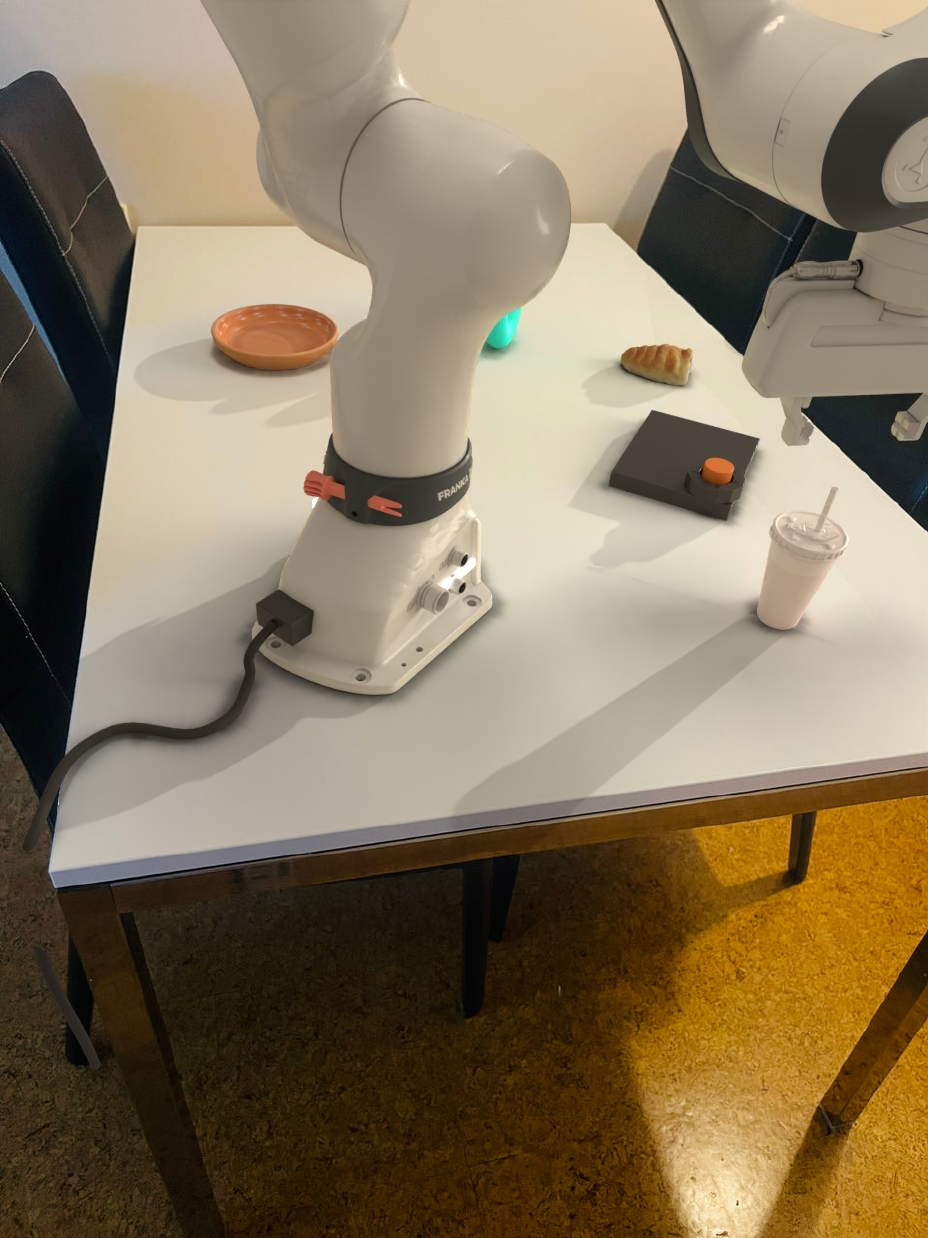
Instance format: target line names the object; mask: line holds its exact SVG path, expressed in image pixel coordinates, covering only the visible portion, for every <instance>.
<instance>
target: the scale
mask: <svg viewBox="0 0 928 1238" xmlns="http://www.w3.org/2000/svg"><path fill="white" fill-rule="evenodd" d="M760 440H761V438H760V437H756V436H752V435H748V434H744V433H741V432H738V431H734V430H730V429H726V428H722V427H720V426H714V425H712V424H707V423H704V422H699V421H696V420H693V419H688V418H685V417H680V416H678V415H674V414H670V413H666V412H662V411H659V410H655V409H651V411H649V413H648V415H647V417H646V418H645V420H643V422H642V424H641V426H640V427H639V429H638V430H637V432H636V433H635V435H634V436H633V438H632V439H631V441H630V442H629V444H628V446H627V447H626V449H625V450H624V452H623V453H622V455H621V456H620V457H619V459H618V461H617V462H616V464H615V465H614V466H613V468H612V470H611V471H610V477H609V482H608V487H611V488H614V489H618V490H621V491H625V492H627V493H631V494H635V495H638V496H642V497H645V498H647V499H648V498H649V499H651V500H655V501H658V502H662V503H664V504H665V503H666V504H668V505H672V506H675V507H679V508H683V509H685V510H688V511H692V512H696V513H699V514H702V515H705V516H709V517H713V518H715V519H719V520H722V521H728V519H729V517H730V515H731V512H732V510H733V507H734V505H735V503H736V501H739V499H740V498H741V495H742V493H743V491H744V487H745V485H746V484H745V483H746V482H747V479H746V477H747V474H748V471H749V469H750V466H751V465H752V462H753V460H754V457H755V455H756V452H757V450H758V446H759V444H760ZM710 458H721V459H725V460H727V461H729V462H731V463H732V464H733V466H734V471H733V474H732V477H731V480H730V483H729V484H726V485H724V484H714V483H710V482H708V481H706V480H705V479H703V478H702V472H703V468H704V464H705V461H706V460H708V459H710Z"/></svg>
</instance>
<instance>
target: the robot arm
mask: <svg viewBox="0 0 928 1238" xmlns="http://www.w3.org/2000/svg"><path fill="white" fill-rule="evenodd" d="M199 1H200V4H201V5H202V7H203V9H204V10H205V12H206V13H207V16H208V18H209V19H210V21H211V22H212V25H213V26H214V28H215V29H216V31H217V34H218V35H219V36H220V38H221V41H222V42H223V44H224V46H225V47H226V49H227V51H228V52H229V54H230V57H231V58H232V60H233V61H234V63H235V65H236V68H237V70H238V72H239V74H240V76H241V78H242V80H243V83H244V85H245V87H246V90H247V92H248V95H249V98H250V101H251V103H252V106H253V109H254V113H255V115H256V118H257V122H258V124H259V129H258V133H257V138H256V148H255V157H256V159H255V160H256V168H257V173H258V177H259V180H260V183H261V186H262V188H263V190H264V192H265V194H266V196H267V197H268V199H269V200H270V201H271V203H272V204H273V205H274V206H275V207H276V208H277V209H278V210H279V211H280V212H281V213H282V214H283V215H284V216H285V217H286V218H287V219H288V220H289V221H290V222H291V223H292V224H293V225H295V226H296V228H298V229H299V230H300V231H301V232H303V234H305V235H307V236H308V237H309V239H311V240H312V241H314V242H316V243H318V244H319V245H322V246H324V247H327V248H328V249H330V250H332V251H334V252H336V253H338V254H339V255H342V256H344V257H346V258H348V259H350V260H352V261H355V262H357V263H358V264H360V265H363V266H365V267H366V269H367V271H368V273H369V277H370V280H371V287H372V288H371V295H370V296H371V298H370V304H369V308H368V312H367V315H366V318H364V319H362V320H360V321H359V322H357V323H355V324H353V325H352V326H351V327H350V328H348V329H347V330H346V331H345V332H344V333H343V334H342V335H341V336H340V337H339V338H337V341H336V343H335V345H334V346H333V347H332V350H331V354H330V358H329V377H330V380H329V381H330V400H331V401H330V402H331V403H330V405H331V407H330V408H331V429H332V432H331V434H330V435H329V438H328V442H327V448H326V451H325V454H324V457H323V461H322V464H323V470H322V473H321V472H320V471H317V470H310V471H309V472H308V473H307V474H306V475H305V478H304V481H303V492H304V493H303V494H305V495H307V496H308V497H309V496H310V497H313V499H312V500H311V502H312V503H311V504H312V509H311V511H310V513H309V514H308V517H307V518H306V521H305V522H304V524H303V527H302V529H301V531H300V533H299V534H298V537H297V539H296V541H295V543H294V545H293V547H292V549H291V551H290V554H289V555H288V558H287V559H286V561H285V563H284V566H283V568H282V570H281V573H280V577H279V582H278V583H279V584H278V586H277V589H276V590H275V591H273V592H271V593H270V594H268V595H267V596H264V598H262V599H260V600H258V601H257V602H256V603H255V610H256V618H257V620H256V621H255V623H254V625H253V626H252V629H251V641H250V642H249V644H248V646H247V648H246V650H245V652H244V655H243V660H242V661H243V663H242V664H243V669H244V676H243V679H242V681H241V685H240V688H239V691H238V694H237V696H236V698H235V700H234V702H233V704H232V705H231V707H230V708H229V709H228V710H227V712H225V713H224V714H223V715H221V716H220V717H218V718H217V719H216V720H214V721H212V722H210V723H207V724H204V725H202V726H198V727H193V728H179V727H178V728H177V727H170V726H164V725H158V724H153V723H148V722H147V723H146V722H121V723H116V724H111V725H109V726H107V727H105V728H102V729H100V730H98V731H97V732H94V733H92V734H90V735H89V736H88V737H86V738H85V739H83V740H81V741H80V742H79V743H77V744H76V745H74V747H72V748H71V749H70V750H69V751H68V752H67V753H66V754H65V755H64V756H63V757H62V759H61V760H60V761H59V763H58V764H57V765H56V767H55V768H54V769H53V772H52V774H51V775H50V777H49V779H48V782H47V784H46V786H45V789H44V790H43V793H42V795H41V798H40V801H39V803H38V805H37V808H36V810H35V813H34V814H33V818H32V819H31V822H30V826H29V827H28V830H27V833H26V835H25V837H24V841H23V844H22V850H23V851H25V852H28V851H29V852H30V851H32V850H33V849H34V848H35V847H37V845H38V843H39V840H40V837H41V835H42V832H43V830H44V827H45V824H46V822H47V819H48V818H49V817H48V816H49V814H50V812H51V809H52V806H53V805H54V801H55V799H56V797H57V794H58V792H59V789H60V788H61V785H62V783H63V781H64V779H65V778H66V776H67V774H68V772H69V771H70V769H71V768H72V767H73V765H74V764H75V763H76V762H77V761H78V760H79V759H80V758H81V757H82V756H83V755H84V754H85V753H87V752H88V751H89V750H91V749H93V748H94V747H96V746H97V745H99V744H101V743H102V742H105V741H107V740H108V739H111V738H113V737H116V736H120V735H126V734H128V735H129V734H138V735H145V736H152V737H159V738H165V739H169V740H170V739H171V740H180V741H184V740H185V741H188V740H198V739H203V738H206V737H208V736H211V735H213V734H216V733H218V732H219V731H221V730H223V729H225V728H226V727H228V726H229V725H231V724H232V723H233V722H234V721H235V720H236V719H237V718H238V717H239V715H240V714H241V712H242V710H243V709H244V707H245V705H246V703H247V700H248V698H249V696H250V693H251V689H252V686H253V684H254V679H255V677H256V666H255V665H256V664H255V658H256V655H257V653H258V651H259V652H260V653H261V654H262V655H263V656H264V657H265V658H267V659H268V660H269V661H271V662H272V663H274V664H275V665H277V666H278V667H280V668H282V669H284V670H286V671H288V672H289V673H291V674H293V675H296V676H299V677H301V678H303V679H305V680H308V681H310V682H313V683H316V684H318V685H321V686H323V687H327V688H331V689H335V690H337V691H341V692H342V691H343V692H347V693H352V694H358V695H359V694H360V695H373V696H374V695H375V696H376V695H390V694H394V693H396V692H397V691H399V690H400V689H401V688H402V687H404V686H405V685H406V684H407V683H408V682H409V681H411V680H412V679H413V678H414V677H415V676H416V675H417V674H418V673H419V672H421V671H422V670H423V669H424V668H426V667H427V666H428V665H429V664H430V663H431V662H433V660H434V659H435V658H436V657H438V656H439V655H440V654H441V653H442V652H443V651H445V649H447V648H448V647H449V646H451V644H452V643H453V642H454V641H456V640H457V639H458V638H460V636H461V635H462V634H464V633H465V632H466V631H467V630H468V629H470V628H471V627H472V626H473V625H474V624H475V623H476V622H477V621H478V620H480V619H481V618H482V617H483V616H484V615H485V614H487V612H488V611H490V610H491V609H492V608H493V593H492V591H491V590H490V589H489V587H488V586H487V585H486V584H485V583H484V582H483V581H482V579H481V577H482V575H481V571H482V570H481V568H482V566H481V565H482V523H481V521H480V518H479V515H478V514H477V513H476V510H475V509H474V506H473V504H472V501H471V500H470V496H469V493H468V491H469V489H470V485H471V477H472V472H473V462H474V461H473V459H474V458H473V446H472V441H471V439H470V437H469V428H470V427H469V426H470V418H471V409H472V400H473V393H474V392H473V391H474V383H475V378H476V377H475V375H476V370H477V366H478V363H479V358H480V355H481V353H482V350H483V347H484V345H485V343H486V342H487V340H486V339H487V337H488V336H489V334H490V332H491V331H492V329H493V328H494V326H495V325H496V324H497V323H498V322H499V320H501V319H502V318H503V317H504V316H505V315H507V314H509V313H511V312H513V311H515V310H517V309H519V308H521V309H522V307H524V306H526V305H527V304H528V303H530V302H531V301H532V300H534V299H535V298H536V297H537V296H538V295H539V294H541V292H542V291H543V290H544V289H545V288H546V287H547V285H549V283H550V281H552V279H553V278H554V276H555V275H556V273H557V271H558V269H559V267H560V266H561V263H562V261H563V259H564V256H565V255H566V250H567V248H568V243H569V240H570V234H571V226H572V204H571V203H572V202H571V199H570V198H571V197H570V192H569V187H568V184H567V181H566V178H565V176H564V174H563V173H562V170H561V169H560V167H559V166H558V165H557V164H556V163H555V162H554V161H553V160H552V159H550V158H549V157H548V156H546V155H545V154H543V153H542V152H540V151H539V150H538V149H536V148H535V147H534V146H532V145H531V144H529V143H528V142H527V141H525V140H524V139H522V138H521V137H519V136H517V135H516V134H515V133H513V132H511V131H510V130H509V129H507V128H505V127H503V126H502V125H499V124H498V123H494V122H491V121H488V120H485V119H482V118H478V117H476V116H473V115H470V114H466V113H463V112H460V111H457V110H454V109H451V108H448V107H444V106H441V105H438V104H435V103H432V102H431V101H428V100H426V99H425V98H423V97H422V95H420V94H419V93H418V92H417V91H416V90H415V89H414V88H413V86H412V85H411V84H410V83H409V81H408V80H407V78H406V77H405V75H404V74H403V71H402V68H401V66H400V63H399V59H398V56H397V55H398V54H397V52H396V51H397V49H396V43H395V41H396V40H397V38H398V36H399V34H400V32H401V30H402V28H403V26H404V24H405V21H406V19H407V16H408V14H409V10H410V6H411V4H412V3H411V2H412V0H199ZM654 2H655V4H656V7H657V9H658V11H659V13H660V16H661V18H662V21H663V23H664V25H665V27H666V30H667V32H668V34H669V36H670V39H671V41H672V45H673V47H674V49H675V52H676V55H677V59H678V63H679V66H680V70H681V77H682V83H683V84H682V85H683V93H684V95H683V96H684V105H685V115H686V124H687V129H688V133H689V138H690V141H691V143H692V147H693V150H694V151H695V153H696V155H697V156H698V158H699V159H700V161H701V162H702V163H703V164H704V165H705V166H706V167H707V168H708V169H709V170H710V171H712V172H713V173H715V174H716V175H718V176H721V177H724V178H727V179H730V180H732V181H735V182H738V183H740V184H743V185H746V186H750V187H754V188H755V189H758V190H759V191H761V192H763V193H765V194H767V195H769V196H771V197H773V198H775V199H776V200H778V201H780V202H783V203H785V204H786V205H787V206H790V207H792V208H794V209H796V210H799V211H801V212H803V213H806V214H808V215H810V216H812V217H814V218H815V219H818V220H820V221H822V222H823V223H826V224H828V225H829V226H833V227H835V228H838V229H842V230H846V231H851V232H854V233H856V236H855V239H854V242H853V244H852V248H851V250H850V253H849V257H848V259H847V260H833V261H828V262H826V261H825V262H817V261H814V260H806V261H800V262H796V263H795V264H794V265H793V267H791V268H789V269H786V270H785V271H782V273H781V274H779V275H778V276H777V277H775V278H774V279H773V280H772V281H771V282H770V284H769V285H768V288H767V292H766V295H765V298H764V302H763V305H762V311H761V314H760V315H759V318H758V320H757V322H756V324H755V327H754V329H753V331H752V334H751V336H750V339H749V342H748V344H747V347H746V350H745V353H744V355H743V359H742V361H741V362H742V363H741V372H742V375H743V376H744V378H745V379H746V381H747V382H748V384H749V385H750V386H751V388H752V389H753V390H754V391H755V392H756V393H757V394H758V395H759V396H760V397H762V398H764V399H779V401H780V404H781V407H782V410H783V413H784V417H785V420H784V422H783V425H782V429H781V432H780V433H781V435H780V437H781V440H782V441H783V442H784V444H785V445H786V446H787V447H798V446H807V445H808V444H809V443H810V441H811V440H810V437H811V436H812V435H813V433H814V429H815V426H814V425H813V424H812V423H811V422H809V420H808V418H806V416H805V415H803V412H802V409H808V408H809V407H810V404H811V402H812V399H813V398H814V397H843V396H865V395H866V396H869V395H871V396H872V395H895V394H896V395H897V394H921V395H920V396H919V397H918V398H917V399H916V400H915V401H914V403H913V404H912V405H910V407H909V408H908V409H907V410H904V411H903V410H902V411H897V413H896V415H895V418H894V422H893V423H892V425H891V429H890V432H891V435H892V436H893V437H896V439H897V440H898V441H900V442H901V441H903V442H904V441H918V440H919V439H921V437H922V434H923V432H924V429H925V427H926V424H927V423H928V6H927V7H926V8H924V9H923V10H921V11H919V12H918V13H916V14H914V15H912V16H911V17H909V18H907V19H905V20H903V21H901V22H899V23H896V24H894V25H892V26H888V27H885V28H882V29H881V33H878V32H872V31H868V30H866V29H861V28H858V27H854V26H850V25H848V24H843V23H841V22H840V23H839V22H836V21H832V20H828V19H826V18H823V17H821V16H819V15H817V14H814V13H813V12H810V11H809V10H807V9H806V8H804V7H802V6H800V5H798V4H797V3H795V2H794V1H793V0H654ZM882 33H883V34H882ZM31 947H32V950H33V954H34V957H35V960H36V962H37V966H38V968H39V970H40V973H41V975H42V977H43V980H44V982H45V984H46V986H47V989H48V991H49V992H50V994H51V996H52V998H53V1000H54V1001H55V1003H56V1005H57V1007H58V1008H59V1010H60V1012H61V1014H62V1015H63V1017H64V1019H65V1021H66V1022H67V1024H68V1026H69V1027H70V1029H71V1031H72V1032H73V1034H74V1036H75V1038H76V1040H77V1043H79V1046H80V1047H81V1049H82V1051H83V1054H84V1056H85V1057H86V1059H87V1061H88V1064H89V1066H90V1069H91V1071H98V1070H99V1068H101V1065H102V1063H101V1061H100V1059H99V1057H98V1054H97V1051H96V1049H95V1047H94V1045H93V1043H92V1041H91V1039H90V1037H89V1034H88V1033H87V1031H86V1029H85V1028H84V1025H83V1024H82V1022H81V1020H80V1018H79V1017H78V1015H77V1013H76V1011H75V1009H74V1008H73V1006H72V1005H71V1002H70V1001H69V999H68V997H67V996H66V993H65V992H64V989H63V987H62V986H61V983H60V982H59V979H58V978H57V974H56V973H55V970H54V969H53V965H52V963H51V959H50V956H49V954H48V951H47V950H44V949H43V948H41V947H39V946H37V945H35V944H34V943H31Z"/></svg>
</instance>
